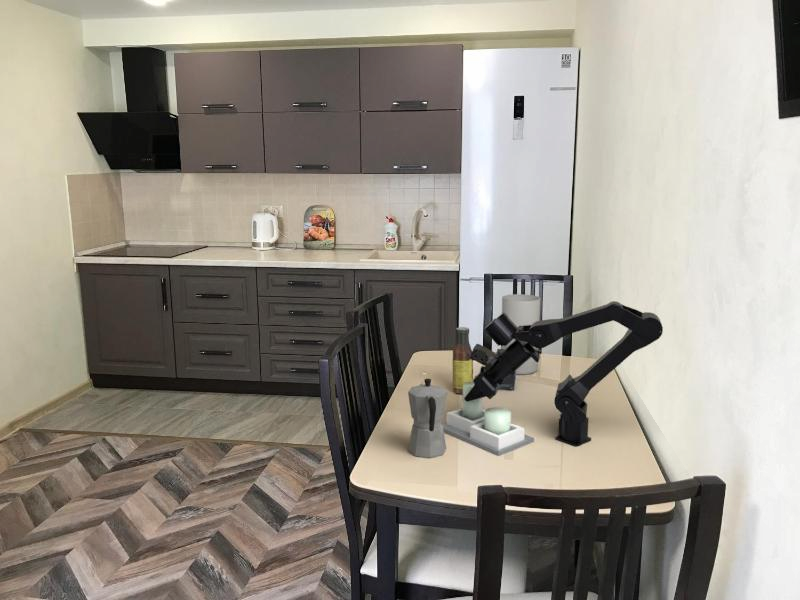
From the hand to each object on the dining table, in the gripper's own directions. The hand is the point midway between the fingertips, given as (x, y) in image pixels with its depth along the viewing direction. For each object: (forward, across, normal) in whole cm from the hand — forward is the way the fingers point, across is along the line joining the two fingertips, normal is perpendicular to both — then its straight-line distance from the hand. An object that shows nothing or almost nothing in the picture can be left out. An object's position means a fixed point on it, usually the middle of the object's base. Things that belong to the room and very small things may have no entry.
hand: (467, 396), depth 169 cm
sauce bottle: (+11, -28, +1) cm, 30 cm away
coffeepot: (+10, +18, +2) cm, 21 cm away
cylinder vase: (+2, -56, +11) cm, 57 cm away
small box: (+3, -39, +9) cm, 40 cm away
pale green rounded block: (+4, 0, +6) cm, 7 cm away
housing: (+2, +4, +10) cm, 11 cm away
